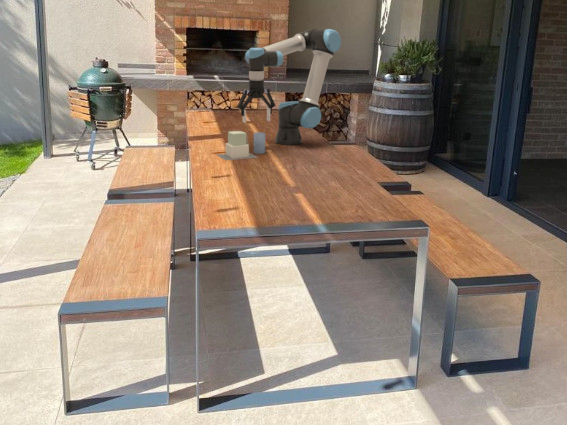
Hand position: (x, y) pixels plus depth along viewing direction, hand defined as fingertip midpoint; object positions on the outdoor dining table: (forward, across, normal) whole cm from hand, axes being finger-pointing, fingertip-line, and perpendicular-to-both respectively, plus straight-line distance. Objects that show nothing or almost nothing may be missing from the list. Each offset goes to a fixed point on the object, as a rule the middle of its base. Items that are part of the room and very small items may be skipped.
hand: (256, 121), depth 330 cm
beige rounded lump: (+17, +2, -14) cm, 23 cm away
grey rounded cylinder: (+17, -1, +1) cm, 17 cm away
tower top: (+10, +13, +5) cm, 17 cm away
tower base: (+16, +13, +5) cm, 21 cm away
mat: (+17, +13, +5) cm, 22 cm away
